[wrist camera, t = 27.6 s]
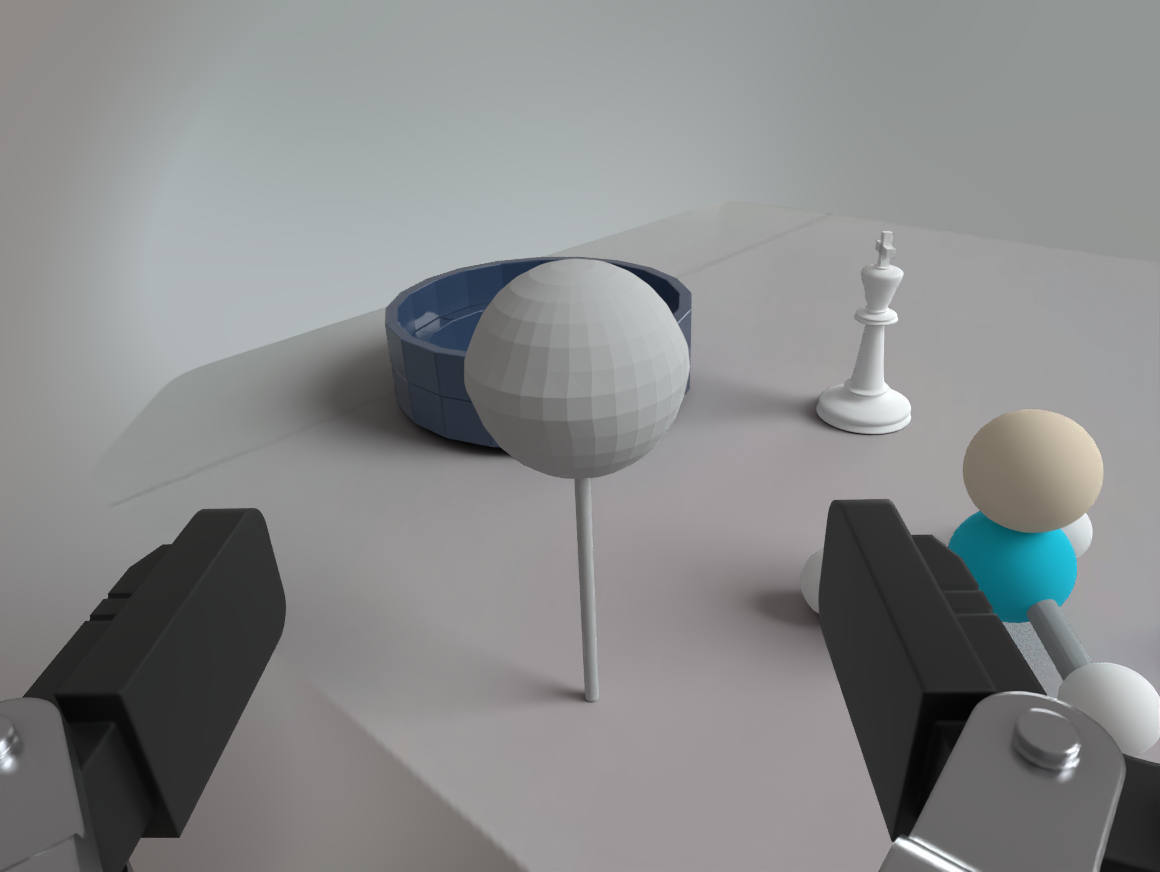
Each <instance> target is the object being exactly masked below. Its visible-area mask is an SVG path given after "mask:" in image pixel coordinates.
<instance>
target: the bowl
mask: <svg viewBox="0 0 1160 872" xmlns="http://www.w3.org/2000/svg"><path fill="white" fill-rule="evenodd" d="M566 259H590V260H599V261H603V262H607V263H610V264H612V265H615V266H617V267H620V268H622V269H625V270H627V271H629V272H631V273H633V274H634V275H636V276H637V277H638V278H640V279H641V280H643V281H644V282H646V283H647V284H648V285H649V286H650V287H652V288H653V289H654V291H655V292H656V293H657V294H658V295H659V296H660V297H661V298H662V299H663V301H664V302H665V303H666V304H667V306H668V307H669V309H670V311H671V313H672V314H673V316H674V318H675V320H676V322H677V324H678V326H679V328H680V329H681V331H682V333H683V335H684V337H685V340H686V342H687V345H688V350H689V362H690V348H691V309H692V308H691V292H690V291H689V290H688V289H687V288H686V287H685V286H684V285H683V284H682V283H681V282H680V281H679V280H678V279H676V278H674V277H672V276H670V275H667V274H665V273H663V272H660V271H658V270H656V269H653V268H650V267H646V266H641V265H637V264H632V263H628V262H623V261H617V260H608V259H597V258H586V257H536V258H525V259H516V260H505V261H496V262H491V263H485V264H480V265H475V266H470V267H464V268H460V269H456V270H453V271H450V272H447V273H443V274H440V275H437V276H434V277H431V278H428V279H426V280H424V281H422V282H420V283H418V284H416V285H414V286H412V287H410V288H408V289H406V290H404V291H403V292H401V293H400V294H399V295H398V296H397V297H396V298H395V299H394V300H393V301H392V302H391V303H390V304H389V305H388V306H387V307H386V310H385V328H386V334H387V340H388V347H389V353H390V359H391V364H392V372H393V378H394V384H395V391H396V397H397V403H398V405H399V406H400V407H401V408H402V409H403V411H404V412H405V413H406V414H407V415H408V416H409V418H410V419H411V420H412V421H413V422H414V423H415V424H417V425H419V426H422V427H424V428H426V429H428V430H430V431H432V432H434V433H437V434H439V435H441V436H443V437H445V438H446V437H447V438H449V439H454V440H459V441H464V442H469V443H474V444H479V445H484V446H489V447H491V446H492V447H500V446H499V445H498V443H497V442H496V441H495V440H494V438H493V437H492V436H491V435H490V433H489V432H488V431H487V430H486V428H485V427H484V426H483V424H482V421H481V419H480V417H479V415H478V413H477V411H476V409H475V407H474V405H473V403H472V401H471V399H470V397H469V395H468V393H467V391H466V387H465V383H464V360H465V356H466V353H467V350H468V347H469V344H470V341H471V339H472V336H473V333H474V331H475V329H476V326H477V324H478V322H479V320H480V318H481V315H482V313H483V312H484V311H485V309H486V308H487V307H488V305H489V304H490V303H491V301H492V300H493V299H494V297H495V296H496V295H497V293H498V292H499V291H500V290H501V289H503V288H504V287H505V286H506V285H507V284H509V283H510V282H511V281H512V280H513V279H515V278H516V277H517V276H519V275H521V274H523V273H525V272H527V271H529V270H531V269H533V268H535V267H537V266H539V265H542V264H544V263H548V262H553V261H559V260H566ZM689 387H690V370H689V376H688V381H687V385H686V389H685V394H686V393H687V392H688V390H689ZM685 394H684V395H685Z"/></svg>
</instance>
